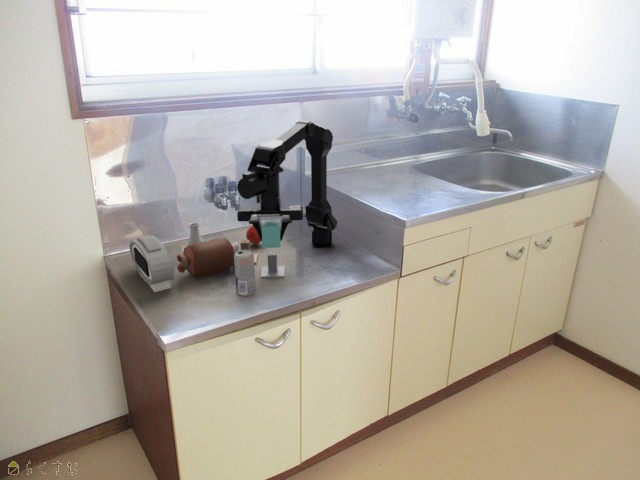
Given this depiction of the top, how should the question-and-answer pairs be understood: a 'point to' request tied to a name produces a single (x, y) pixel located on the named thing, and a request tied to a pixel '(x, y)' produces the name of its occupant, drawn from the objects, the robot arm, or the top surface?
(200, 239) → the flask
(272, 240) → the turquoise block
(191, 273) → the meat
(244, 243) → the tan wooden stamp
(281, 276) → the light grey base plate
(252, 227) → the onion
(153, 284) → the alarm clock
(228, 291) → the top surface
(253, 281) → the energy drink
